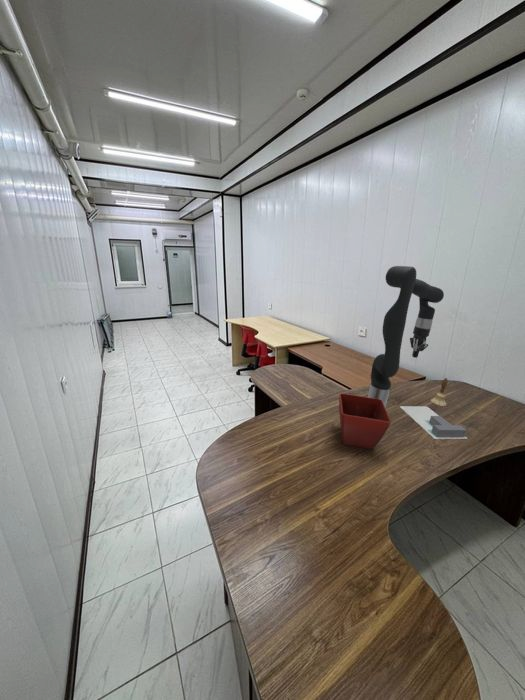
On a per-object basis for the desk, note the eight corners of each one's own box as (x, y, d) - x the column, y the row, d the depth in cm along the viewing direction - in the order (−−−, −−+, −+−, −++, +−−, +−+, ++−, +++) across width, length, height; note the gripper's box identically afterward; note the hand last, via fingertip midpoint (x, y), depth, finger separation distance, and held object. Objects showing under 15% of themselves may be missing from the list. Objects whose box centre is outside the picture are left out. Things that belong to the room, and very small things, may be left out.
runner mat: (434, 439, 129) (434, 438, 128) (399, 406, 156) (399, 406, 156) (467, 439, 131) (467, 438, 130) (426, 406, 158) (427, 406, 158)
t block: (436, 437, 130) (439, 430, 128) (420, 422, 141) (422, 415, 140) (464, 437, 131) (466, 430, 130) (445, 422, 142) (448, 415, 141)
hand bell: (449, 406, 160) (457, 381, 155) (435, 405, 160) (443, 380, 155) (441, 399, 168) (448, 375, 163) (427, 398, 168) (434, 374, 162)
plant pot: (382, 456, 114) (391, 422, 109) (335, 448, 118) (342, 414, 112) (374, 430, 132) (381, 399, 127) (333, 423, 135) (339, 392, 130)
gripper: (408, 323, 151) (401, 352, 157) (424, 329, 139) (415, 361, 144) (421, 323, 152) (413, 353, 157) (438, 330, 139) (428, 361, 145)
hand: (414, 357), depth 151 cm, fingers closed
